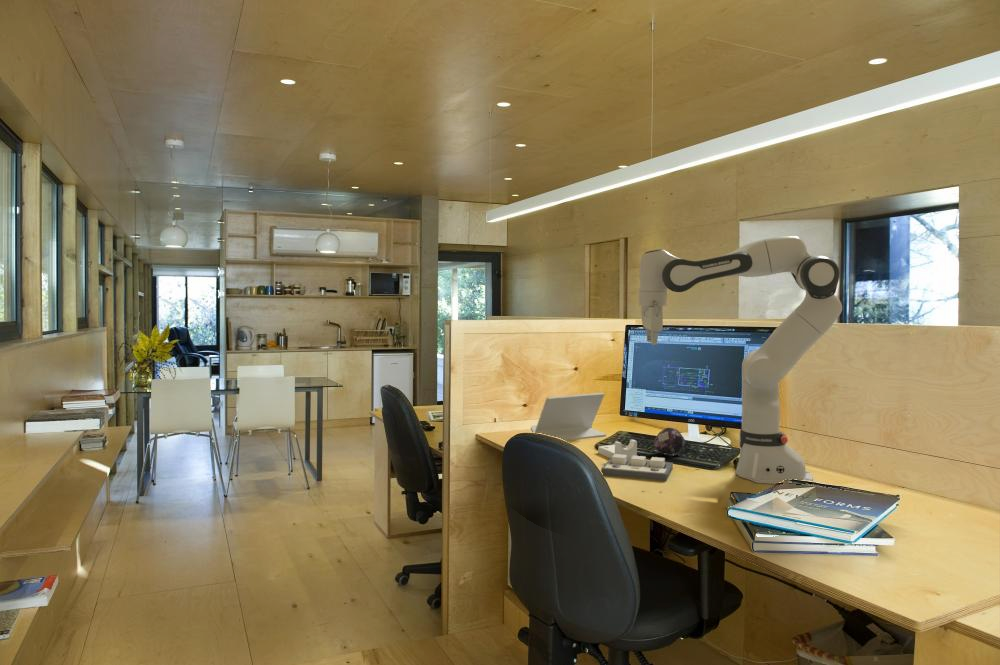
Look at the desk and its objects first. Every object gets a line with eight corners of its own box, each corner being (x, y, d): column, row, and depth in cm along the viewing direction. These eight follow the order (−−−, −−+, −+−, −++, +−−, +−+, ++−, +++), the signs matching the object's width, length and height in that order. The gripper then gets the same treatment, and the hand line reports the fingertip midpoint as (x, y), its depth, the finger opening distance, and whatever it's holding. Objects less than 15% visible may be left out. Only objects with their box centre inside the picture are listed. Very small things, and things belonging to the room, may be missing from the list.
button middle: (645, 464, 226) (645, 456, 226) (643, 467, 222) (643, 459, 222) (633, 463, 227) (633, 455, 227) (630, 466, 224) (630, 458, 223)
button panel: (672, 471, 226) (672, 461, 226) (666, 484, 213) (666, 473, 213) (611, 466, 234) (611, 456, 233) (601, 477, 221) (601, 467, 220)
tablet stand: (607, 436, 276) (607, 393, 275) (550, 443, 267) (549, 398, 266) (584, 427, 293) (584, 386, 292) (529, 433, 284) (529, 391, 282)
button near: (664, 465, 224) (664, 458, 223) (663, 469, 220) (663, 461, 220) (652, 464, 225) (652, 457, 225) (650, 467, 221) (650, 460, 221)
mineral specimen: (645, 447, 250) (655, 421, 251) (670, 457, 253) (680, 431, 253) (658, 453, 241) (668, 426, 241) (683, 463, 243) (694, 436, 244)
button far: (627, 462, 228) (627, 454, 228) (624, 465, 224) (624, 458, 224) (614, 461, 229) (614, 453, 229) (612, 464, 226) (612, 456, 226)
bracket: (636, 463, 238) (636, 441, 238) (619, 465, 235) (619, 443, 235) (615, 454, 250) (615, 433, 249) (598, 456, 247) (598, 435, 247)
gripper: (668, 301, 216) (667, 346, 218) (657, 299, 237) (656, 340, 238) (647, 301, 217) (646, 346, 218) (638, 299, 237) (637, 340, 238)
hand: (651, 343), depth 228 cm, fingers open, 8 cm apart
